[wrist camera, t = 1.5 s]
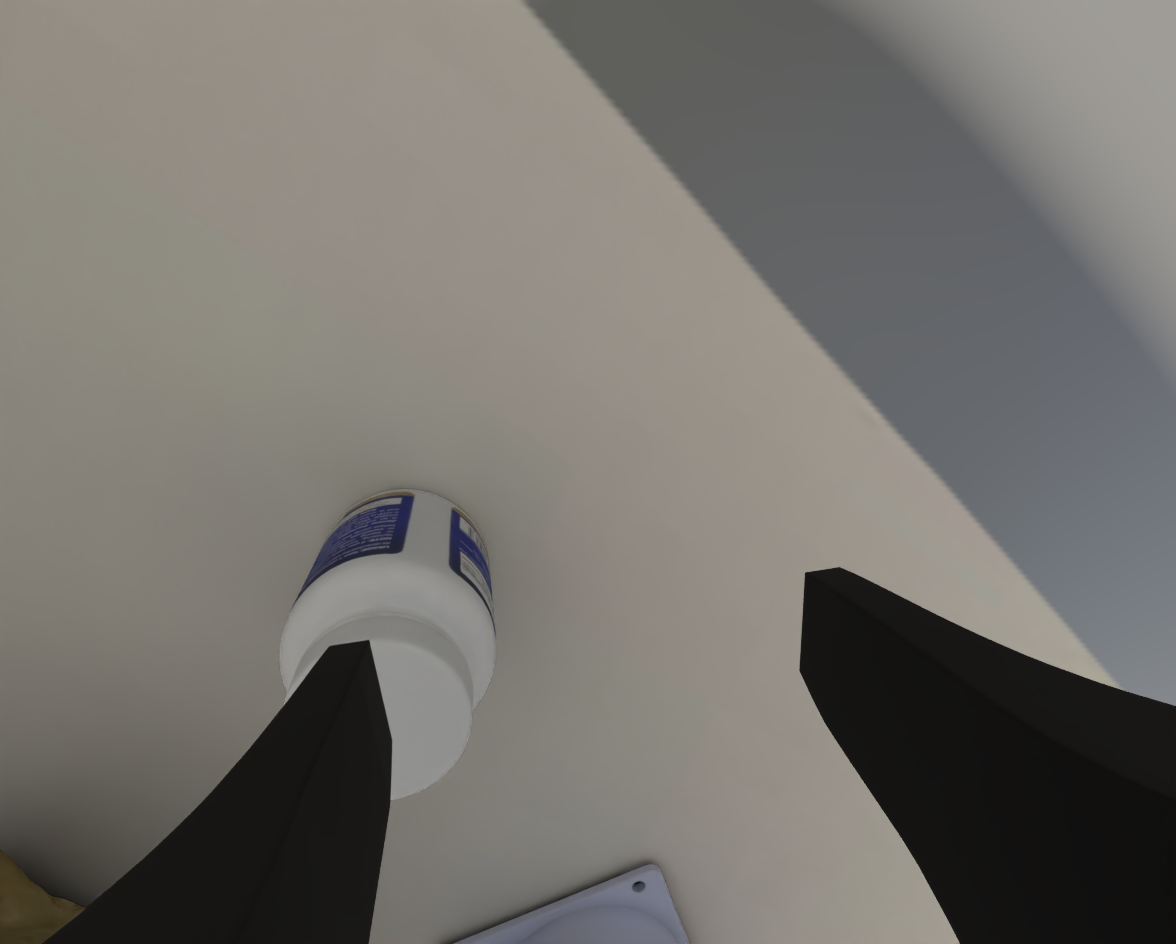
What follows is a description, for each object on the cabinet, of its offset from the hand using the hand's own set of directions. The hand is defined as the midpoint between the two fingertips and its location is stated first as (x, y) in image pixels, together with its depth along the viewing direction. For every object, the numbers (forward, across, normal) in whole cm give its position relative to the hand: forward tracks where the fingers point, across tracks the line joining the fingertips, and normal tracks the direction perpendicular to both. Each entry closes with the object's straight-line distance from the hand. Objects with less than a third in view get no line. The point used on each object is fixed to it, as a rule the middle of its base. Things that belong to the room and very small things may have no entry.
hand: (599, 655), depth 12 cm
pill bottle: (+12, +4, +4) cm, 14 cm away
